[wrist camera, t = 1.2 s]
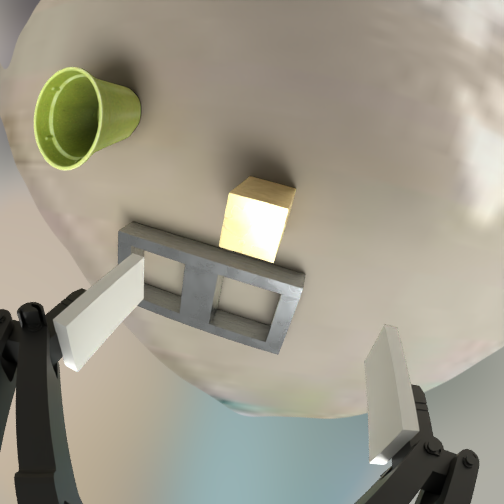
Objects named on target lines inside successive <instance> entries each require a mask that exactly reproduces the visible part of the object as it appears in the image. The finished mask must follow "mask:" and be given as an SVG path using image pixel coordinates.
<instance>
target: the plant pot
mask: <svg viewBox="0 0 504 504" xmlns="http://www.w3.org/2000/svg"><path fill="white" fill-rule="evenodd" d="M140 116H141V106H140V101H139V99H138V97H137V96H136V94H135V93H134V92H133V91H132V90H130V89H129V88H127V87H124V86H121V85H117V84H113V83H110V82H106V81H103V80H99V79H96V78H95V77H93V76H92V75H91V74H90V73H89V72H87V71H86V70H84V69H82V68H78V67H67V68H64V69H62V70H60V71H58V72H56V73H55V74H54V75H53V76H52V77H50V79H49V80H48V81H47V82H46V84H45V85H44V87H43V88H42V90H41V92H40V94H39V97H38V100H37V103H36V107H35V113H34V133H35V138H36V142H37V145H38V148H39V150H40V152H41V154H42V155H43V157H44V159H45V160H46V161H47V162H48V163H49V164H50V165H51V166H53V167H55V168H56V169H59V170H72V169H75V168H77V167H79V166H81V165H82V164H83V163H85V162H86V161H87V160H88V159H89V157H90V156H91V155H92V154H93V153H94V152H96V151H99V150H101V149H103V148H105V147H107V146H109V145H112V144H114V143H116V142H119V141H121V140H123V139H126V138H127V137H129V136H130V135H131V134H132V132H133V131H134V129H135V128H136V127H137V125H138V124H139V121H140Z"/></svg>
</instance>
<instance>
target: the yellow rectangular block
mask: <svg viewBox="0 0 504 504" xmlns="http://www.w3.org/2000/svg"><path fill="white" fill-rule="evenodd" d="M295 192H296V189H295V188H292V187H288V186H285V185H281V184H278V183H274V182H270V181H267V180H263V179H259V178H256V177H252V176H250V177H248V178H247V179H246V180H245V181H243V182H242V183H241V184H240V185H238V186H237V187H236V188H235V189H233V190H232V191H231V192H230V193H229V196H228V201H227V206H226V211H225V216H224V221H223V227H222V232H221V237H220V242H219V247H222V248H226V249H229V250H232V251H236V252H239V253H242V254H245V255H249V256H252V257H255V258H259V259H262V260H265V261H269V262H272V263H273V262H274V260H275V257H276V254H277V251H278V248H279V246H280V243H281V240H282V237H283V234H284V232H285V228H286V224H287V221H288V217H289V214H290V210H291V206H292V203H293V199H294V196H295Z"/></svg>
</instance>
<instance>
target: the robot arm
mask: <svg viewBox="0 0 504 504" xmlns="http://www.w3.org/2000/svg"><path fill="white" fill-rule="evenodd" d="M143 299H144V257H143V256H140V255H136V254H133V253H132V254H131V255H130V256H129V257H127V258H126V259H125V260H123V261H122V262H121V263H120V264H118V265H117V266H116V267H115V268H113V269H112V270H111V271H110V272H109V273H107V274H106V275H105V276H104V277H102V278H101V279H100V280H99V281H97V282H96V283H95V284H94V285H93V286H91V287H90V288H89V289H88V290H85V289H79V290H77V291H74V292H72V293H71V294H70V295H69V296H68V297H67V298H66V299H64V300H63V301H61V303H59V304H58V305H57V306H55V307H54V308H53V309H52V310H51V311H50V312H48V313H47V314H46V315H45V313H44V309H43V306H42V305H41V304H39V303H36V302H30V303H26V304H24V305H22V306H21V307H20V308H19V309H18V311H17V314H18V318H19V321H16V320H12V317H11V314H10V312H9V311H7V310H4V309H0V450H1V445H2V440H3V435H4V431H5V426H6V422H7V418H8V414H9V410H10V406H11V402H12V399H13V395H14V392H15V388H16V435H17V450H18V462H19V471H18V472H17V473H15V477H14V480H15V489H16V496H17V501H18V504H83V503H82V501H81V499H80V497H79V494H78V491H77V487H76V483H75V478H74V474H73V469H72V465H71V460H70V454H69V449H68V443H67V437H66V430H65V423H64V415H63V406H62V396H61V384H60V369H59V363H58V361H59V360H60V359H61V358H62V357H63V360H64V363H65V365H66V366H68V367H69V368H71V369H73V370H74V371H76V372H78V371H79V370H80V369H81V368H82V367H83V365H84V364H85V363H86V362H87V361H88V359H89V358H90V357H91V356H92V355H93V354H94V352H96V350H97V349H98V348H99V347H100V346H101V345H102V344H103V343H104V341H105V340H106V339H107V338H108V337H109V336H110V334H112V332H113V331H114V330H115V329H116V328H117V327H118V326H119V325H120V324H121V323H122V321H123V320H124V319H125V318H126V317H127V316H128V315H129V314H130V313H131V312H132V310H133V309H134V308H135V307H136V306H137V305H138V304H139V303H140V302H141V301H142V300H143ZM364 363H365V375H366V389H367V405H368V424H369V425H368V426H369V463H372V464H386V463H387V462H388V461H389V460H390V459H391V458H392V466H391V467H390V468H389V469H388V470H387V471H385V472H384V473H383V474H382V475H381V478H380V479H379V480H378V481H377V482H376V483H375V484H374V485H373V486H372V487H371V488H370V489H369V490H368V491H367V492H366V493H365V494H364V495H363V496H362V497H361V498H360V499H359V500H358V501H357V502H356V503H355V504H409V503H410V502H411V500H412V499H413V498H414V496H415V495H416V494H417V493H418V491H419V490H420V489H421V490H420V492H419V495H418V497H417V500H416V502H415V504H470V503H471V499H472V495H473V491H474V487H475V483H476V479H477V474H478V469H479V459H478V456H477V455H476V454H475V453H474V452H473V451H472V450H469V449H465V450H462V451H461V452H459V453H458V454H454V453H451V452H449V451H446V450H444V449H443V445H442V443H441V442H440V441H439V440H438V439H437V438H435V437H434V436H433V432H432V427H431V422H430V417H429V412H428V407H427V405H426V398H425V394H424V392H423V391H422V389H421V388H420V386H417V385H411V382H410V377H409V373H408V368H407V364H406V360H405V356H404V351H403V347H402V343H401V339H400V336H399V332H398V328H397V327H394V326H390V325H386V324H385V325H384V326H383V328H382V330H381V332H380V334H379V336H378V338H377V340H376V342H375V344H374V345H373V347H372V349H371V351H370V353H369V354H368V356H367V358H366V360H365V361H364Z"/></svg>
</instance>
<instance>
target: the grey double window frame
mask: <svg viewBox="0 0 504 504" xmlns="http://www.w3.org/2000/svg"><path fill="white" fill-rule="evenodd" d="M144 250H145V251H148V252H151V253H154V254H157V255H160V256H163V257H166V258H169V259H172V260H175V261H178V262H181V263H184V264H185V271H184V279H183V288H182V296H178V295H175V294H173V293H170V292H167V291H164V290H162V289H159V288H156V287H153V286H151V285H148V284H145V283H144V299H143V300H142V301H141V302H140V303H139V304H138V305H137V306H139V307H142V308H144V309H147V310H149V311H152V312H154V313H157V314H159V315H162V316H165V317H167V318H170V319H173V320H175V321H178V322H181V323H183V324H186V325H189V326H192V327H194V328H197V329H200V330H203V331H206V332H209V333H212V334H214V335H217V336H220V337H223V338H226V339H229V340H232V341H236V342H239V343H242V344H245V345H248V346H251V347H254V348H258V349H261V350H264V351H268V352H271V353H274V354H279V351H280V349H281V346H282V343H283V341H284V338H285V336H286V333H287V331H288V328H289V325H290V323H291V320H292V317H293V315H294V312H295V309H296V307H297V304H298V301H299V298H300V296H301V293H302V290H303V285H304V279H305V274H303V273H300V272H297V271H293V270H290V269H287V268H283V267H280V266H277V265H273V264H270V263H267V262H263V261H260V260H257V259H253V258H250V257H247V256H244V255H240V254H237V253H234V252H230V251H227V250H224V249H220V248H217V247H214V246H211V245H207V244H204V243H201V242H197V241H194V240H191V239H188V238H184V237H181V236H178V235H175V234H171V233H168V232H165V231H162V230H158V229H155V228H152V227H149V226H145V225H142V224H139V223H136V222H132V223H130V224H129V225H127V226H125V227H124V228H122V229H121V230H119V231H118V264H120V263H121V262H122V261H123V260H125V259H126V258H127V257H129V256H130V255H131V254H132V253H133V254H136V255H140V256H143V257H144ZM224 276H225V277H228V278H231V279H234V280H237V281H240V282H244V283H247V284H250V285H253V286H257V287H260V288H263V289H266V290H270V291H273V292H276V293H280V294H281V295H280V299H279V302H278V305H277V308H276V311H275V314H274V317H273V320H272V323H271V326H269V325H266V324H263V323H259V322H256V321H253V320H250V319H247V318H244V317H240V316H237V315H234V314H231V313H228V312H225V311H222V310H219V309H217V307H218V302H219V297H220V292H221V287H222V282H223V277H224Z"/></svg>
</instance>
